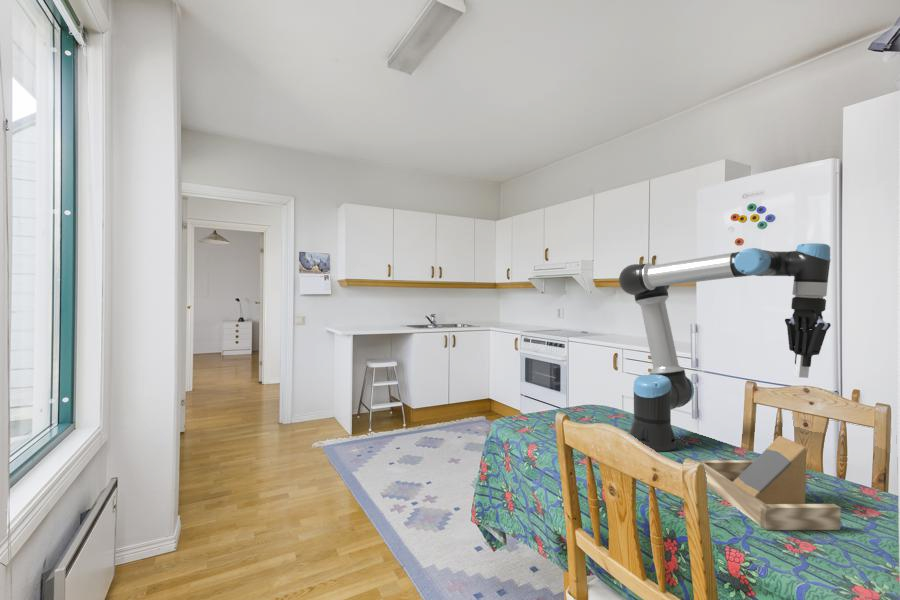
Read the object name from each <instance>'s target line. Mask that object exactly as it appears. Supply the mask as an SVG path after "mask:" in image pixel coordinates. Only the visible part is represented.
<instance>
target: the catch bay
mask: <svg viewBox="0 0 900 600" xmlns="http://www.w3.org/2000/svg"><path fill="white" fill-rule="evenodd" d="M755 460H756V459H740V460H739V459H734V460H733V459H731V460H729V459H723V460H722V459H720V460H719V459H717V460H716V459H712V460H710V459H709V460H708V459H707V460H705V459H704V460H703V459H702V460H701V459H700V460H695V462H696V461H697V462H700V463H702V464H704V467H705V472H706V477H707V486H706V487H707V488H709V489H710V490H711V491H713V492H714V494H717V495H718V496H719V497H720V498H721V499H723V500H725V501H726V502H728V503H729V504H730V505H731V506H733V507H734V508H735V507H736V508H735V509H737V510H738V511H739V510H740V512H741V513H742V514H743V515H744V516H746V517H747V518H749V519H750V520H752V521H753V522H754V523H756V524H757V525H758V526H760V528H762V529H764V530H765V531H817V530H818V531H824V530H826V531H827V530H829V531H834V530H835V531H838V530H839V531H841V526H842V525H841V523H842V522H841V519H842V517H841V510H842V508H841V506H839V505H837V504H835V503H805V504H765V503H763V502H762V501H760V500H759V499H757V498H756V497H754V496H753V495H751V494H750V493H748V492H747V491H745V490H744V489H742V488H741V487H739V486H738V485H736V484H735V483H733V481H734V480H735V479H736V478H737V477H738V476H739V475H740V474H741V473H742V472H743V471H744V470H745V469H747V468H748V467H749V466H750V465H751V464H752V463H753V462H754V461H755Z"/></svg>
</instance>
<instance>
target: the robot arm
mask: <svg viewBox="0 0 900 600" xmlns="http://www.w3.org/2000/svg"><path fill="white" fill-rule="evenodd" d="M831 260H832V259H831V246H830V245H829V244H827V243H821V242H820V243H818V242H817V243H815V242H814V243H813V242H812V243H811V242H810V243H800V244H797V246H796V249H795V250H792V251H791V250H790V251H770V250H765V249H761V248H756V247H755V248H754V247H753V248H746V249H743V250H740V251H737V252H729V253H722V254H716V255H710V256H705V257H697V258H691V259H690V258H689V259H685V260H679V261H672V262H666V263H660V264H652V263H650V262H646V263H641V264H640V263H636V264H631V265H627V266H626V267H624V268H623V269H622V270H621V272H620V273H619V274H620V275H619V278H618V283H619V286H620V288H621V289H622V291H624V292H625V293H627V294H628V295H631V296H634V300H635V304H638V305H639V306H640V309H641V314H642V318H643V319H642V320H643V325H644V328H645V333H646V338H647V343H648V348H649V352H650V358H651V362H652V363H651V364H652V369H651V370H650V372H649V374H642V375H639V376H637V377H636V378H635V379H634V382H633V388H632V389H633V421H632V423H631V426H630V430H629V432H628V434H629V433H630V434H631V435H633V436H634V437H635V438H637V439H638V440H639V441H641V442H642V443H643V444H645V445H647V446H649V447H650V448H652V449H654V450H655V451H654V452H671V451H674V450H676V449H677V439H676V436H675V433H674V431H673V427H672V424H671V421H672V420H671V416H672V415H671V413H672V412H671V411H672V410H674V409H677V408H681V407H684V406H685V405H687V404H689V402H690V401H691V400H692V399H693V397H694V394H695V388H694V385H693V382H692V381H691V379H690V378H689V377H687V376H686V372H685V368H684V367H682V366H680V365H679V360H678V356H677V352H676V347H675V341H674V337H673V333H672V327H671V323H670V319H669V313H668V310H667V304H666V301H667V300H668V298H669V291H668V290H669V288H670V286H673V285H682V284H691V283H698V282H707V281H708V282H709V281H714V280H715V281H716V280H723V279H731V278H741V277H742V278H743V277H751V276H755V277H793V283H792V284H793V285H792V296H793V297H792V298H791V307H790V308H791V310H793V313H792V316H791V317H790V318H785V319H784V323H785V325H786V327H787V328H786V329H787V339H788V346H789V347H788V349H789V351H791V352H793V353H794V354H795V357H794V364H795V371H794V377H796V378H806V379H809V373H810V368H811V366H812V357H813V356H819V355H820V353H821V350H822V347H823V344H824V339H825V338H826V334H827V332H828V330H829V329H830V327H831V322H825V320H823V319H824V317H823V312H825V311H826V306H827V300H826V299H825V298H824V297H827V293H828V283H829V273H830V266H831Z"/></svg>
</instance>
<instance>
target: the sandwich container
mask: <svg viewBox="0 0 900 600" xmlns="http://www.w3.org/2000/svg"><path fill="white" fill-rule="evenodd" d="M754 460H755V461H754V462H753V463H752V464H751V465H750V466H749V467H748V468H747V469H745V470H744V471H743V472H742V473H741V474H740V475H739V476H738V477H737V478H736V479H735V480H732V482H733V483H735V484H736V485H738V486H739V487H741V488H742V489H744V490H745V491H747V492H748V493H750V494H751V495H753V496H754V497H756V498H757V499H759V500H760V501H762V502H763V503H765V504H806V485H807V482H806V481H807V479H806V477H807V447H806V446H804V445H801V444H800V443H797V442H795V441H793V440H791V439H788V438H786V437H784V436H781V435H778V436H777V437H776V438H775V439H774V440H773V442H772V443H771V444H770V445H769V446H768V447H767V448H766V449H765V450H764V451H763V452H762V453H760V455H759V456H757V457H756V458H755V459H754Z"/></svg>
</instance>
